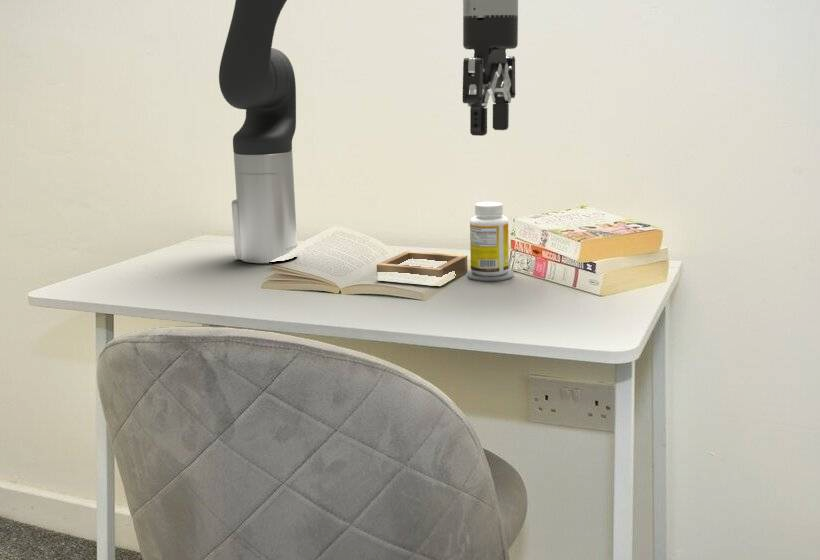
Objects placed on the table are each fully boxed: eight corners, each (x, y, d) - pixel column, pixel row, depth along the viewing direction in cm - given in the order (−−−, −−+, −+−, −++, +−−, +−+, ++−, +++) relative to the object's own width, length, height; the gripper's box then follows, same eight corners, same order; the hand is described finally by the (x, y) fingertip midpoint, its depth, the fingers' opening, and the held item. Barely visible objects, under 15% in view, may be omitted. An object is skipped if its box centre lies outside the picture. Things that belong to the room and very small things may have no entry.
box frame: (377, 281, 138) (376, 264, 137) (407, 266, 147) (406, 251, 146) (440, 287, 134) (440, 269, 133) (467, 272, 142) (467, 255, 142)
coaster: (458, 278, 138) (458, 276, 138) (476, 268, 144) (476, 266, 144) (504, 282, 135) (504, 280, 135) (520, 272, 141) (520, 269, 141)
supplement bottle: (495, 267, 143) (495, 199, 141) (516, 274, 139) (516, 204, 136) (463, 271, 141) (462, 203, 139) (483, 279, 136) (482, 208, 134)
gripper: (484, 15, 139) (483, 127, 143) (444, 13, 127) (445, 136, 130) (533, 14, 136) (531, 129, 140) (497, 11, 123) (496, 138, 127)
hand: (489, 132), depth 135 cm, fingers open, 8 cm apart
